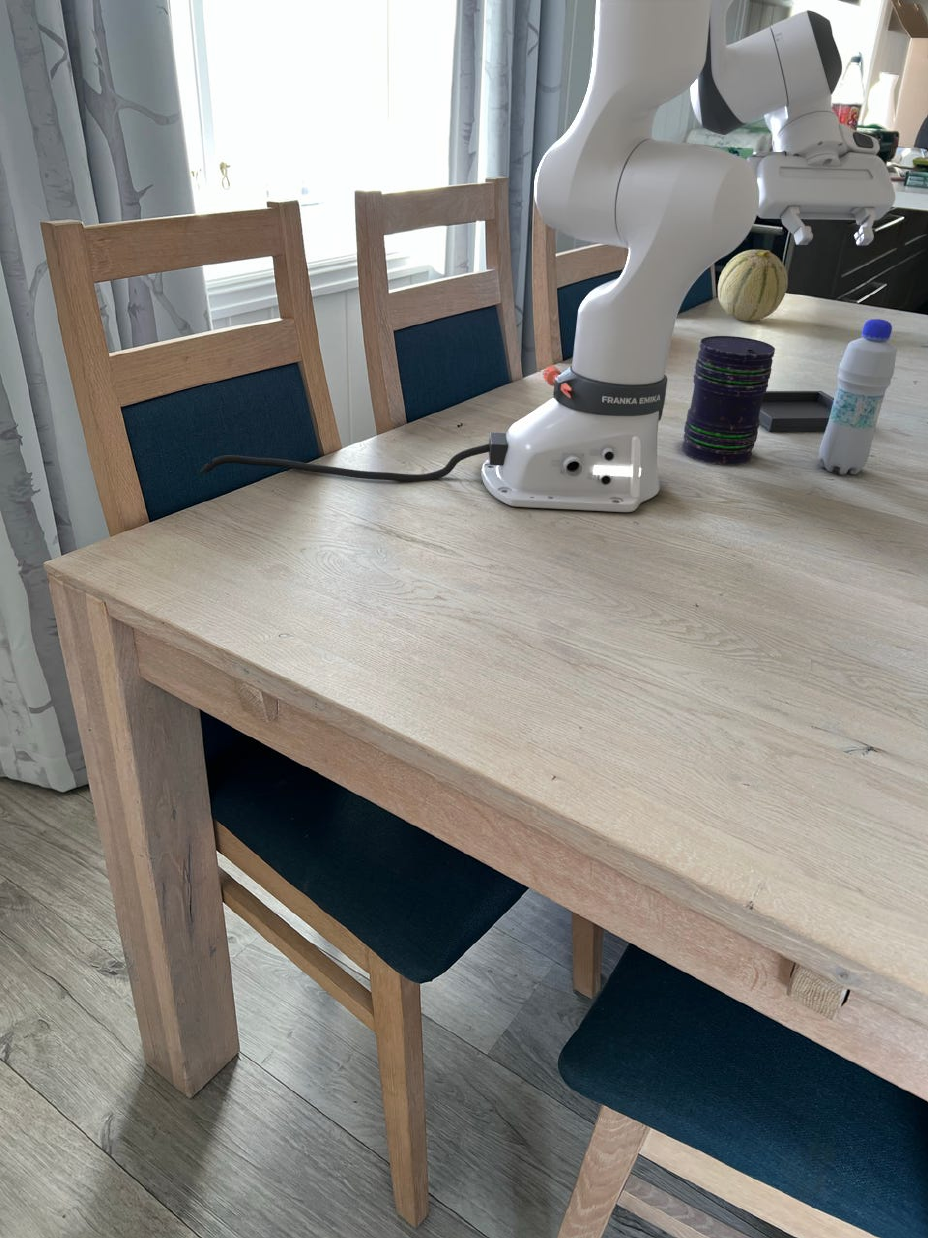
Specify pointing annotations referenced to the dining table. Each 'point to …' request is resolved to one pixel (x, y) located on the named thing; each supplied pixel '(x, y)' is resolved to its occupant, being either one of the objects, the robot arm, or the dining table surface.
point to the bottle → (858, 398)
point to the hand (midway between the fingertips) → (835, 242)
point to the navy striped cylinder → (727, 399)
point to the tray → (795, 411)
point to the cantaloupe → (752, 285)
